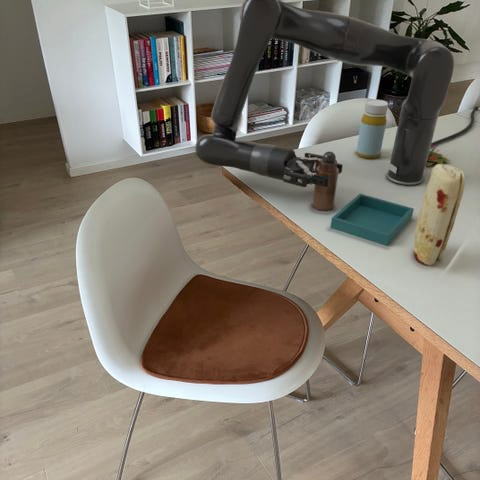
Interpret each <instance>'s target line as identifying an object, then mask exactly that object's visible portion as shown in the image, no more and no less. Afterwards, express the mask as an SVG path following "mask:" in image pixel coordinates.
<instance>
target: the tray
mask: <svg viewBox="0 0 480 480" xmlns="http://www.w3.org/2000/svg"><path fill="white" fill-rule="evenodd" d="M414 210H415V208H413V207H409V206H406V205H403V204H400V203H395V202H391V201H388V200H384V199H381V198H378V197H374V196H371V195H367V194H364V193H359V194H358V195H356V196H355V197H354V198H353V199H352V200H350V201H349V202H348V203H347V204H346V205H345V206H344V207H343V208H341V209H339V211H338V212H336V214H335V215H333V216H332V217H331V221H330V229H332V230H335V231H339V232H341V233H344V234H347V235H351V236H353V237H357V238H360V239H363V240H367V241H370V242H373V243H376V244H379V245H382V246H385V247H388V246H389V244H390V243H391V242H392V241H393V240H394V239H395V238H396V237H397V236H398V234H399V233H400V232H401V231H402V230H403V229H404V228H405V226H406V225H407V224H409V222H410V221H411V220H412V218H413V213H414Z"/></svg>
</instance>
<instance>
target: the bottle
mask: <svg viewBox="0 0 480 480" xmlns="http://www.w3.org/2000/svg"><path fill="white" fill-rule="evenodd" d="M388 108H389V102H388V101H386V100H383V99H374V98H373V99H372V98H371V99H367V100H366V101H365V104H364V111H363V115H362V117H361V120H360V126H359V132H358V138H357V144H356V151H355V152H356V154H357V156H358V157H359V158H361V159H365V160H374V159H377V158H379V156H380V155H381V152H382V146H383V143H384V136H385V131H386V127H387V112H388Z"/></svg>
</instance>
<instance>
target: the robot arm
mask: <svg viewBox="0 0 480 480" xmlns="http://www.w3.org/2000/svg"><path fill="white" fill-rule="evenodd" d="M239 20H240V21H239V29H238V34H237V40H236V43H235V44H236V45H235V47H234V51H233V54H232V57H231V60H230V62H229V66H228V67H227V69H226V72H225V74H224V77H223V79H222V82H221V84H220V86H219V89H218V92H217V96H216V98H215V101H214V104H213V107H212V110H211V115H210V119H211V122H213V124H214V126H213V131H212V134H211V133H209V134H204V135H202V136H201V137H199V139H197V141H196V143H195V146H194V150H195V151H194V152H195V154H196V156H197V158H198V160H200V161H201V162H202V163H204V164H207V165H211V166H217V167H228V168H234V169H238V170H241V171H244V172H249V173H253V174H256V175H259V176H261V177H266V178H269V179H274V180H279V181H282V182H283V183H286V184H289V185H294V186H298V187H301V188H307V187H308V186H311V185H320V186H324V187H327V186H328V185H329V182H330V178H329V177H327V176H323V175H318V174H316V168H317V167H318V166H319V165H320V160H321V159H322V158H323V155H324V154H323V155H321V154H316V153H311V152H304V156H301V157H300V156H297V155H296V152H295V150H294V149H293V148H288V147H283V146H278V145H274V144H269V143H258V142H253V141H250V140H236V139H237V133H238V124H239V122H240V119H241V116H242V114H243V111H244V108H245V105H246V103H247V100H248V96H249V93H250V90H251V87H252V84H253V81H254V77H255V75H256V72H257V69H258V66H259V64H260V62H261V59H262V57H263V55H264V53H265V51H266V49H267V47H268V45H269V43H270V42H271V40H277V41H282V42H288V43H291V44H295V45H297V46H300V47H302V48H304V49H307V50H309V51H310V52H313V53H315V54H318V55H320V56H322V57H325V58H328V59H330V60H334V61H337V62H341V63H345V64H348V65H354V66H362V67H363V66H364V67H384V68H388V69H392V70H394V71H397V72H399V73H402V74H404V75H407V76H409V77H410V78H411V82H410V84H409V85H410V86H409V90H408V94H407V97H406V98H405V99H404V100H403V101H402V104H401V108H400V113H399V119H398V123H397V129H396V133H395V137H394V143H393V147H392V153H391V157H390V161H389V162H388V166H387V169H388V172H387V173H386V174H387V175H386V178H387V179H388V180H389V181H390V182H392V183H394V184H396V185H397V184H398V185H401V186H417V185H420V184H422V182H423V180H424V174H425V170H426V168H427V167H426V166H427V165H426V163H427V159H428V155H429V151H431V148H432V147H435V146H437V145H439V144H441V143H443V142H447V141H448V140H451V139H454V138H456V137H458V136H461V135H462V134H464V133H466V132H467V131H468V130H469V129H470V128H471V127H472V126H473V124H474V121H475V113H476V111H479V106H477V105H476V106H474V107H473V109H472V111H471V113H470V122H469V124H468V125H467V126H466V127H465V128H463V129H462V130H460V131H458V132H456V133H453V134H451V135H448V136H446V137H443V138H441V139H438V140H435V141H433V138H434V135H435V130H436V126H437V122H438V118H439V115H440V111H441V110H442V108H443V106H444V105H445V103H446V99H447V96H448V92H449V89H450V86H451V82H452V78H453V75H454V70H455V58H454V55H453V53H452V51H451V50H450V49H448V48H447V47H446V46H445V45H444V44H442V43H441V42H439V41H437V40H432V39H427V38H418V37H411V36H406V35H401V34H397V33H394V32H391V31H390V30H388V29H385V28H384V27H383V28H382V27H381V26H379V25H375V24H373V23H370V22H367V21H364V20H362V19H359V18H355V17H352V16H348V15H344V14H339V13H335V12H329V11H323V10H314V9H313V10H311V9H306V8H302V7H298V6H295V5H292V4H290V3H287V2H285V1H282V0H243V2H242V4H241V5H240V9H239ZM431 146H432V147H431ZM337 168H338V169H339V173H338V175H339V174H340V175H341V174H342V172H343V164H342V163H339V162H337Z"/></svg>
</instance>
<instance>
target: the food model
mask: <svg viewBox="0 0 480 480" xmlns="http://www.w3.org/2000/svg"><path fill="white" fill-rule="evenodd" d="M465 186H466V178H465V174H464V171H463V170H461V169H460V168H458V167H456V166H453V165H450V164H444V163H443V164H439V163H437V164H435V166H433V168H432V170H431V173H430V176H429V179H428V181H427V185H426V188H425V191H424V195H423V198H422V202H421V206H420V209H419V213H418V216H417V220H416V224H415V230H414V235H413V236H414V237H413V245H412V253H413V257H414V260H415V261H416V262H417V263H419V264H420V265H422V266H428V267H430V266H433V265H434V264H435V263H436V261H437V260H438V261H439V260H441V258H442V257H444V256H443V255H444V254H445V251H446V248H447V246H448V243H449V240H450V236H451V233H452V231H453V228H454V225H455V222H456V219H457V214H458V212H459V207H460V204H461V201H462V198H463V195H464V190H465Z"/></svg>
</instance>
